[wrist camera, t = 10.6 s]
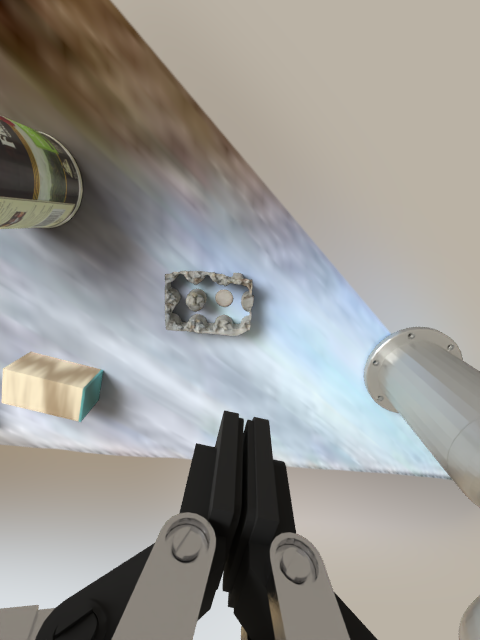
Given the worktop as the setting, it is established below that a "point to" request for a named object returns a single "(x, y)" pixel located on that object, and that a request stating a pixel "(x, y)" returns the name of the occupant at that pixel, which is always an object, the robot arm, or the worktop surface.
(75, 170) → the coffee can
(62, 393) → the maple block
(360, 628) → the robot arm
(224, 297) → the egg carton
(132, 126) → the worktop surface
